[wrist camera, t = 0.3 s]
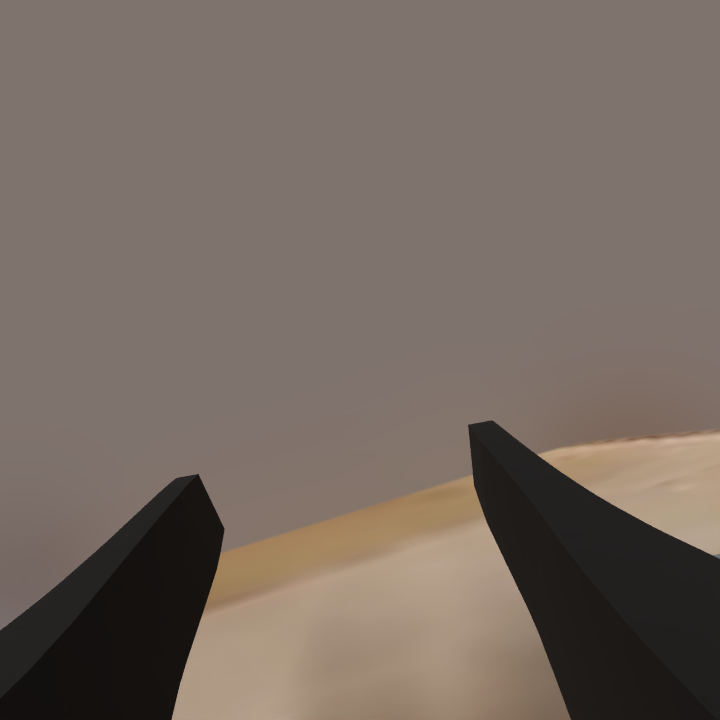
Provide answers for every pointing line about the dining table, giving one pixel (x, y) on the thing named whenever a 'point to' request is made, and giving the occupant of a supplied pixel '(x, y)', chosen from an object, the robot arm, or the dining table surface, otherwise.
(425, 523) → the dining table surface
